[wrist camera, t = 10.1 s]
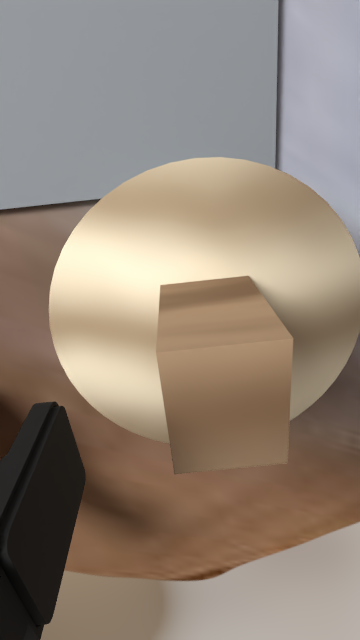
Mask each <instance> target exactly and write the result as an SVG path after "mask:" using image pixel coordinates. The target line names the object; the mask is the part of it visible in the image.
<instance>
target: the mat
mask: <svg viewBox="0 0 360 640" xmlns="http://www.w3.org/2000/svg"><path fill="white" fill-rule="evenodd" d="M277 50H278V0H0V209H9V208H19V207H28V206H37V205H46V204H56V203H65V202H74V201H83V200H93V199H102V198H103V197H104V196H105V195H107V194H108V193H110V192H111V191H112V190H114V189H115V188H117V187H118V186H119V185H121V184H122V183H124V182H125V181H127V180H129V179H131V178H133V177H135V176H137V175H139V174H141V173H143V172H145V171H147V170H150V169H153V168H156V167H159V166H162V165H165V164H168V163H171V162H177V161H182V160H187V159H193V158H210V157H224V158H234V159H243V160H248V161H252V162H256V163H260V164H263V165H267V166H270V167H272V168H275V154H276V102H277Z"/></svg>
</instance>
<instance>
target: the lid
mask: <svg viewBox="0 0 360 640" xmlns="http://www.w3.org/2000/svg"><path fill="white" fill-rule="evenodd" d="M49 319H50V329H51V334H52V338H53V343H54V347H55V349H56V352H57V355H58V357H59V360H60V363H61V365H62V366H63V368H64V370H65V372H66V374H67V376H68V378H69V379H70V381H71V382H72V383H73V385H74V386H75V387H76V389H77V390H78V392H79V393H80V394H81V395H82V396H83V397H84V398H85V399H86V400H87V401H88V402H89V403H90V405H92V406H93V407H94V408H95V409H96V410H98V411H99V412H100V413H101V414H102V415H104V416H105V417H107V418H108V419H110V420H111V421H113V422H114V423H116V424H117V425H119V426H121V427H123V428H125V429H127V430H129V431H131V432H133V433H135V434H138V435H141V436H144V437H146V438H149V439H153V440H156V441H160V442H164V443H170V448H171V455H172V461H173V468H174V474H182V473H193V472H203V471H213V470H223V469H233V468H243V467H253V466H263V465H273V464H283V463H288V442H289V421H290V420H292V419H293V418H295V417H297V416H298V415H299V414H301V413H302V412H303V411H305V410H306V409H307V408H309V407H310V406H311V405H312V404H313V403H314V402H315V401H316V400H318V399H319V398H320V397H321V396H322V395H323V394H324V393H325V392H326V390H327V389H328V388H329V387H330V386H331V385H332V383H333V382H334V381H335V380H336V378H337V377H338V375H339V374H340V372H341V371H342V369H343V368H344V366H345V365H346V363H347V361H348V359H349V357H350V355H351V353H352V351H353V349H354V346H355V344H356V341H357V338H358V335H359V332H360V257H359V254H358V252H357V249H356V247H355V244H354V242H353V239H352V237H351V235H350V233H349V232H348V230H347V228H346V227H345V225H344V223H343V222H342V220H341V218H340V217H339V216H338V215H337V214H336V212H335V211H334V210H333V209H332V208H331V206H330V205H329V204H328V203H327V202H326V201H325V200H324V199H323V198H322V197H320V196H319V195H318V194H317V193H316V192H315V191H313V190H312V189H311V188H310V187H308V186H307V185H305V184H304V183H302V182H300V181H299V180H297V179H296V178H294V177H292V176H291V175H289V174H286V173H284V172H282V171H279V170H277V169H275V168H272V167H270V166H267V165H263V164H260V163H256V162H252V161H248V160H243V159H234V158H224V157H210V158H193V159H187V160H182V161H177V162H171V163H168V164H165V165H162V166H159V167H156V168H153V169H150V170H147V171H145V172H143V173H141V174H139V175H137V176H135V177H133V178H131V179H129V180H127V181H125V182H124V183H122V184H121V185H119V186H118V187H117V188H115V189H114V190H112V191H111V192H110V193H108V194H107V195H105V196H104V197H103V198H102V199H101V200H100V201H99V202H98V203H97V204H96V205H95V206H93V207H92V208H91V209H90V210H89V211H88V212H87V213H86V215H85V216H84V217H83V219H82V220H81V221H80V222H79V224H78V225H77V226H76V227H75V229H74V230H73V232H72V233H71V235H70V237H69V239H68V240H67V242H66V244H65V246H64V247H63V249H62V252H61V254H60V257H59V259H58V262H57V264H56V267H55V270H54V274H53V279H52V283H51V288H50V298H49Z"/></svg>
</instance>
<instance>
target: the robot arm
mask: <svg viewBox="0 0 360 640" xmlns="http://www.w3.org/2000/svg"><path fill="white" fill-rule="evenodd" d="M84 485H85V470H84V467H83V463H82V460H81V457H80V454H79V451H78V448H77V445H76V442H75V438H74V435H73V432H72V429H71V426H70V423H69V420H68V417H67V413H66V410H65V408H64V407H63V406H59V405H58V404H57V402H46V403H36V404H34V405H33V406H32V408H31V410H30V412H29V414H28V416H27V418H26V419H25V421H24V423H23V425H22V427H21V429H20V431H19V433H18V435H17V437H16V439H15V441H14V442H13V444H12V446H11V448H10V450H9V452H8V454H7V455H5V456H4V457H3V458H2V459H1V460H0V640H40V639H41V634H42V631H43V627H44V624H49V623H50V621H51V619H52V617H53V613H54V610H55V605H56V601H57V596H58V593H59V588H60V585H61V580H62V576H63V572H64V568H65V564H66V560H67V556H68V551H69V547H70V543H71V539H72V535H73V531H74V527H75V522H76V518H77V514H78V510H79V506H80V502H81V498H82V493H83V489H84Z"/></svg>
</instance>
